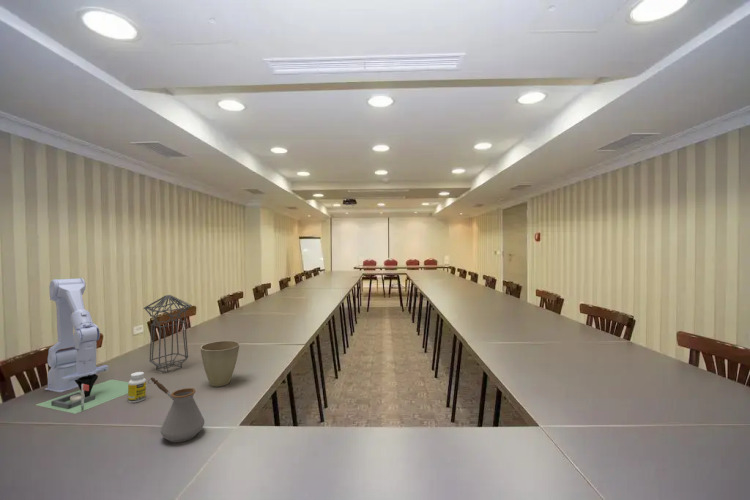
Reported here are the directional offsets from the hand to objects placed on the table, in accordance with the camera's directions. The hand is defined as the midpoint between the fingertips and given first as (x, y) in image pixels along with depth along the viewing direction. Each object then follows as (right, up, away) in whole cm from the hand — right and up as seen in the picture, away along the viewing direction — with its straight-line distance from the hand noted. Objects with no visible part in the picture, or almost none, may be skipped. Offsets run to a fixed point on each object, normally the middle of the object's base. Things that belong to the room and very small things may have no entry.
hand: (86, 396), depth 128 cm
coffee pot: (+46, -1, -23) cm, 52 cm away
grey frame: (+3, -1, -5) cm, 6 cm away
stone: (-1, -1, -3) cm, 3 cm away
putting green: (+1, -1, +3) cm, 3 cm away
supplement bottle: (+20, -1, -1) cm, 20 cm away
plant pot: (+43, -2, +16) cm, 46 cm away
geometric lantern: (+11, -2, +33) cm, 34 cm away
